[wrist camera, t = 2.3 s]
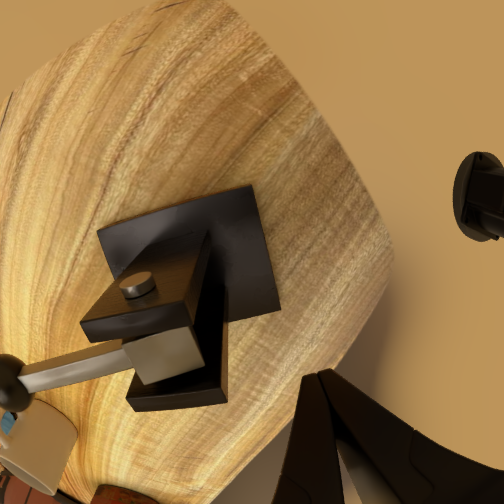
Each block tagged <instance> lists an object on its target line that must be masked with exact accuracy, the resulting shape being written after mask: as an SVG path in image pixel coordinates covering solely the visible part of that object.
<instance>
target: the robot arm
mask: <svg viewBox="0 0 504 504" xmlns="http://www.w3.org/2000/svg"><path fill="white" fill-rule="evenodd" d="M465 219H466V220H465ZM460 222H461V224H462V225H464V226H466V227H469V228H471V229H473V230H475V231H477V232H479V233H481V234H483V235H485V236H487V237H489V238H491V239H493V240H496V241H497V240H498V239H499V237H503V238H504V168H501V167H500V166H498V165H497V164H496V163H495V162H493V161H492V160H491V159H490V158H488V157H487V156H486V155H484V154H483V153H482V152H475V154H474V159H473V164H472V170H471V175H470V180H469V185H468V190H467V194H466V198H465V202H464V206H463V210H462V214H461V218H460ZM337 449H338V451H339V453H340V455H341V458H342V460H343V462H344V464H345V466H346V468H347V471H348V473H349V475H350V477H351V479H352V482H353V484H354V486H355V488H356V490H357V493H358V495H359V497H360V499H361V501H362V503H363V504H504V470H498V469H494V468H491V467H488V466H486V465H483V464H481V463H478V462H476V461H474V460H471V459H469V458H466V457H464V456H462V455H460V454H457V453H455V452H453V451H451V450H449V449H447V448H445V447H443V446H441V445H439V444H438V443H436V442H434V441H433V440H431V439H429V438H428V437H426V436H425V435H423V434H422V433H420V432H419V431H417V430H414V428H413V427H411V426H410V425H408V424H407V423H405V422H404V421H403V420H401V419H400V418H398V417H397V416H395V415H394V414H393V413H391V412H390V411H388V410H387V409H385V408H384V407H383V406H381V405H380V404H379V403H377V402H376V401H374V400H373V399H372V398H370V397H369V396H367V395H366V394H365V393H363V392H362V391H361V390H359V389H358V388H357V387H355V386H354V385H352V384H351V383H350V382H348V381H347V380H346V379H344V378H343V377H342V376H340V375H339V374H338V373H336V372H335V371H334V370H332V369H330V368H328V369H325V370H321V371H318V372H317V374H316V373H311V374H307V375H304V376H303V377H302V379H301V385H300V390H299V395H298V400H297V405H296V410H295V414H294V419H293V424H292V428H291V433H290V437H289V441H288V445H287V450H286V454H285V458H284V462H283V465H282V470H281V475H280V476H279V480H278V484H277V487H276V490H275V493H274V496H273V499H272V502H271V504H345V503H344V495H343V487H342V479H341V472H340V465H339V458H338V452H337Z"/></svg>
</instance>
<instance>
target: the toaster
mask: <svg viewBox="0 0 504 504" xmlns="http://www.w3.org/2000/svg"><path fill="white" fill-rule="evenodd" d="M0 474H1V475H0V504H77V503H75V502H73V501H71V500H70V499H68V498H66V497H64V496H63V495H61V494H59V493H58V492H56V493H55V495H53V496H51V495H48V494H45V493H43V492H40V491H38V490H36V489H35V488H33V487H31V486H29V485H28V484H26V483H25V482H23V481H22V480H20V479H19V478H18V477H16V476H15V475H14V474H12V473H11V472H10V471H9V470H6V469H4V471H1V473H0Z"/></svg>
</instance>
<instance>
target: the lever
mask: <svg viewBox="0 0 504 504" xmlns="http://www.w3.org/2000/svg"><path fill="white" fill-rule="evenodd" d="M204 366H205V362H204V359H203V356H202V352H201V349H200V346H199V342H198V339H197V336H196V334H195V331H194V329H193V326H188V327H183V328H178V329H173V330H168V331H162V332H157V333H151V334H146V335H140V336H134V337H128V338H122V339H116V340H112V341H109V342H106V343H102V344H99V345H96V346H93V347H89V348H86V349H83V350H79V351H76V352H72V353H69V354H65V355H62V356H58V357H55V358H51V359H48V360H44V361H41V362H37V363H33V364H29V365H25V363H24V362H23V361H21V360H20V359H19V358H17V357H15V356H13V355H10V354H0V408H2V409H4V410H6V411H8V412H13V413H18V412H22V411H24V410H26V409H27V408H29V407H30V405H31V404H32V402H33V400H34V397H35V392H39V391H44V390H49V389H53V388H58V387H62V386H67V385H71V384H75V383H79V382H83V381H87V380H91V379H95V378H99V377H103V376H106V375H110V374H114V373H117V372H121V371H124V370H128V369H131V368H134V369H135V371H136V373H137V374H138V376H139V377H140V379H141V381H142V382H143V384H144V385H147V384H151V383H154V382H157V381H161V380H164V379H167V378H171V377H174V376H177V375H180V374H183V373H186V372H189V371H192V370H195V369H198V368H201V367H204Z"/></svg>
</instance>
